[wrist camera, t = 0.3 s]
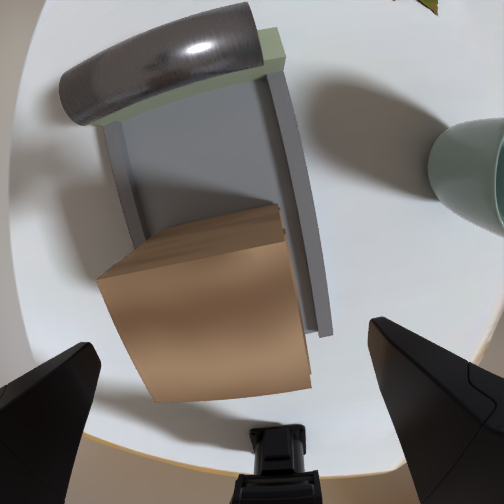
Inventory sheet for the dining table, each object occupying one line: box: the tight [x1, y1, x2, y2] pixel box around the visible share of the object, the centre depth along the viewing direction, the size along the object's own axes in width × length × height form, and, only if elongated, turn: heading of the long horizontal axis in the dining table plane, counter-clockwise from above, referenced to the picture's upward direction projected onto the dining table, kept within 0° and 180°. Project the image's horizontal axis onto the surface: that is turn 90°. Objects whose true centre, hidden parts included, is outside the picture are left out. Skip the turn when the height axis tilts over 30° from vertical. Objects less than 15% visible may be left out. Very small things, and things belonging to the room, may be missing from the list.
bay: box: [59, 2, 333, 338], centre depth 18 cm, size 24×14×9 cm, turn 13°
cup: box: [428, 118, 504, 238], centre depth 16 cm, size 8×8×10 cm
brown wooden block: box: [96, 203, 312, 402], centre depth 18 cm, size 8×9×10 cm
